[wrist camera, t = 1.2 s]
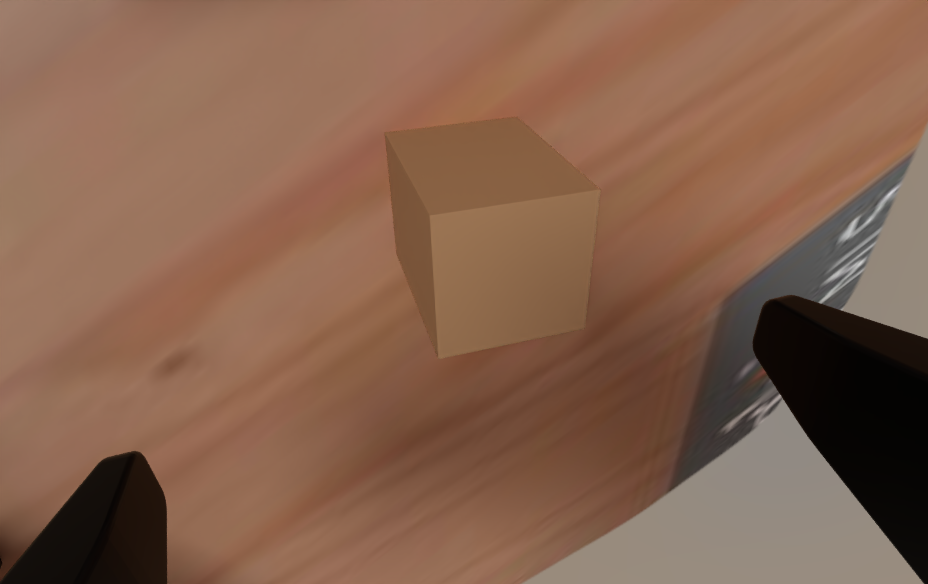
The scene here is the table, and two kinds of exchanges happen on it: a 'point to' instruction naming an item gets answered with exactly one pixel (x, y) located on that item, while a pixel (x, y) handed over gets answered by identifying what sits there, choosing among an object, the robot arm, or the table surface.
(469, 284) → the tan block
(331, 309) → the table surface
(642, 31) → the table surface
